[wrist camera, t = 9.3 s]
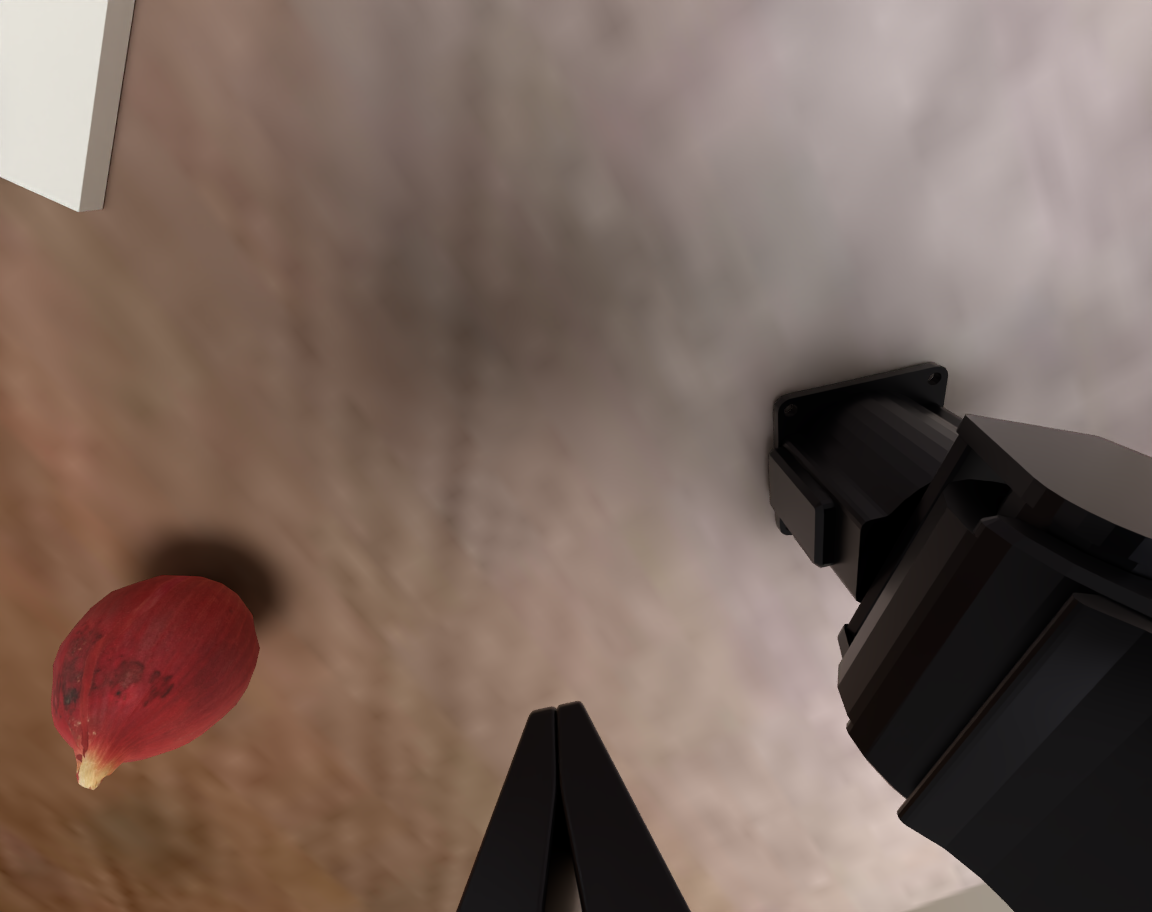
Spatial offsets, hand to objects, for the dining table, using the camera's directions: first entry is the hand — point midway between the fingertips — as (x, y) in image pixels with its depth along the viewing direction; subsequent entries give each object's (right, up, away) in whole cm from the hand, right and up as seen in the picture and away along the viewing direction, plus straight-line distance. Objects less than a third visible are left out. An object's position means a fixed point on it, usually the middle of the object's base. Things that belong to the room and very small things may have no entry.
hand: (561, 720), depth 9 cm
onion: (-15, -1, +14) cm, 21 cm away
